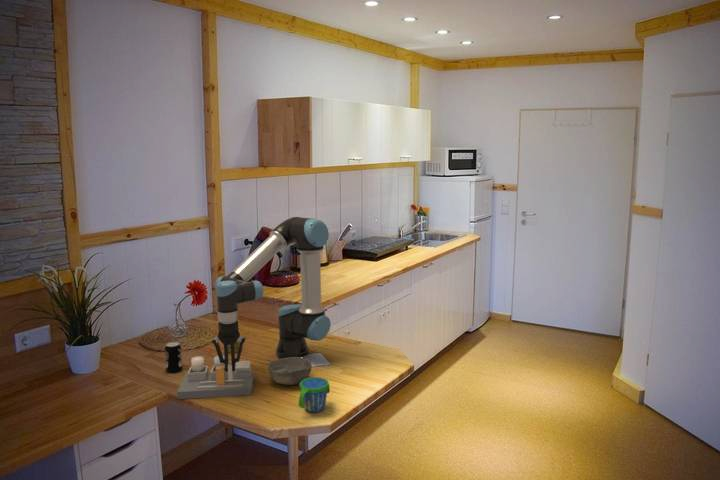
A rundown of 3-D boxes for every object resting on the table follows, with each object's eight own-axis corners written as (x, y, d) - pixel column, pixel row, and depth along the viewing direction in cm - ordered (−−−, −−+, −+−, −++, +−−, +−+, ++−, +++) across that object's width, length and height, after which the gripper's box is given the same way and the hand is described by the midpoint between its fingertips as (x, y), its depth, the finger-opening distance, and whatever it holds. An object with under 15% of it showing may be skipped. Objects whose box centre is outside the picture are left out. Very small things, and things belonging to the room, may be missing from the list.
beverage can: (177, 373, 245) (175, 347, 243) (163, 372, 246) (161, 346, 244) (185, 368, 251) (183, 341, 249) (171, 367, 252) (169, 340, 250)
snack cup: (309, 420, 202) (309, 393, 200) (289, 412, 209) (288, 385, 207) (339, 405, 214) (339, 379, 212) (319, 397, 221) (318, 372, 219)
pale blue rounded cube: (227, 366, 236) (226, 354, 235) (226, 371, 231) (225, 359, 231) (215, 367, 236) (214, 355, 235) (213, 371, 231) (213, 359, 230)
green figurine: (243, 351, 271) (242, 331, 269) (228, 354, 267) (227, 334, 265) (237, 347, 277) (236, 327, 275) (222, 350, 273) (221, 330, 271)
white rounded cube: (204, 367, 235) (204, 356, 234) (203, 372, 230) (202, 360, 230) (192, 368, 235) (192, 356, 234) (190, 372, 230) (190, 361, 229)
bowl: (294, 370, 248) (293, 352, 247) (320, 381, 236) (320, 363, 234) (259, 382, 236) (259, 363, 234) (285, 394, 223) (285, 375, 222)
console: (254, 376, 241) (253, 362, 240) (251, 395, 223) (250, 379, 222) (185, 380, 238) (185, 365, 237) (177, 399, 220) (176, 383, 219)
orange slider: (225, 382, 227) (224, 366, 226) (224, 386, 224) (223, 369, 223) (217, 383, 227) (216, 366, 225) (216, 386, 224) (215, 369, 222)
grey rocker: (250, 363, 237) (250, 360, 237) (249, 370, 233) (249, 367, 232) (236, 364, 237) (236, 361, 236) (235, 371, 232) (235, 368, 232)
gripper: (245, 317, 226) (248, 374, 230) (212, 318, 224) (214, 376, 228) (244, 323, 219) (246, 381, 222) (209, 324, 217) (212, 383, 221)
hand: (230, 378), depth 225 cm, fingers closed
